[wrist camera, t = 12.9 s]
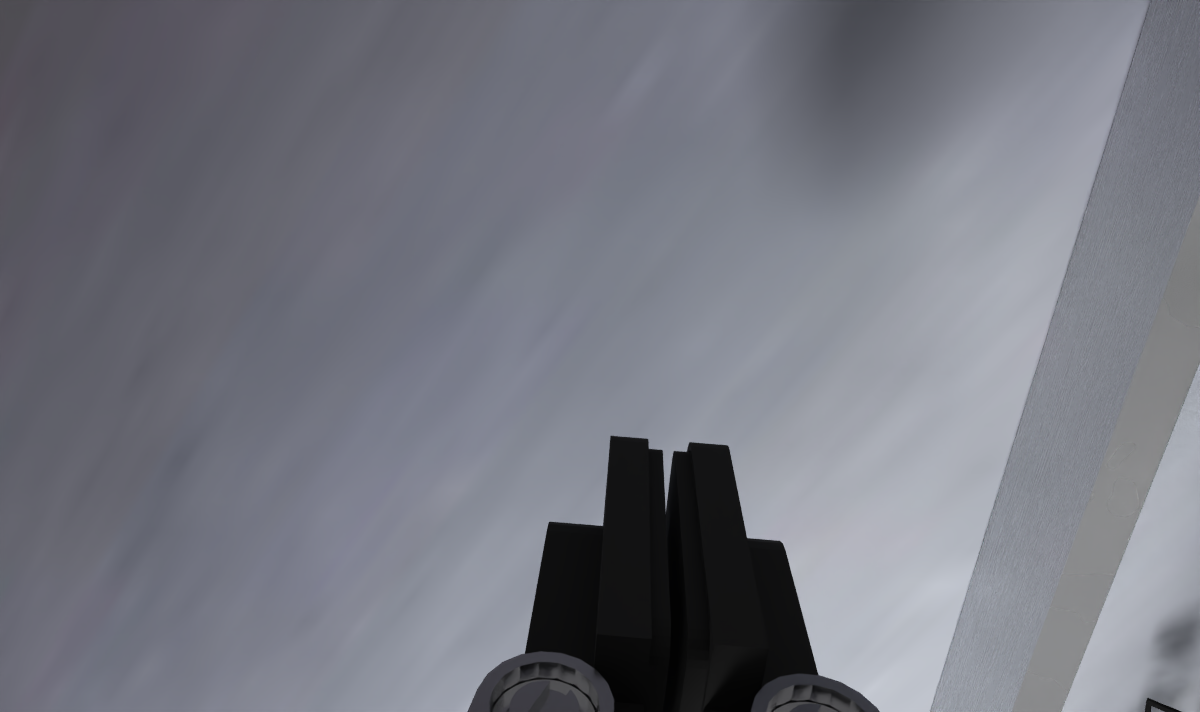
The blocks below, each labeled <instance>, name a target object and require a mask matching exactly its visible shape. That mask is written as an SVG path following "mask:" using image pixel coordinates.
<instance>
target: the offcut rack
mask: <svg viewBox="0 0 1200 712" xmlns="http://www.w3.org/2000/svg"><path fill="white" fill-rule="evenodd" d="M1199 363H1200V0H1151V3H1150V6H1149V9H1148V12H1147V16H1146V19H1145V22H1144V25H1143V28H1142V32H1141V35H1140V38H1139V41H1138V45H1137V48H1136V51H1135V54H1134V57H1133V61H1132V64H1131V67H1130V70H1129V74H1128V77H1127V80H1126V83H1125V86H1124V90H1123V93H1122V96H1121V99H1120V103H1119V106H1118V109H1117V112H1116V115H1115V119H1114V122H1113V125H1112V128H1111V132H1110V135H1109V138H1108V141H1107V144H1106V148H1105V151H1104V154H1103V157H1102V161H1101V164H1100V167H1099V170H1098V173H1097V177H1096V180H1095V183H1094V186H1093V190H1092V193H1091V196H1090V199H1089V203H1088V206H1087V209H1086V212H1085V215H1084V219H1083V222H1082V225H1081V228H1080V232H1079V235H1078V238H1077V241H1076V244H1075V248H1074V251H1073V254H1072V257H1071V261H1070V264H1069V267H1068V270H1067V273H1066V277H1065V280H1064V283H1063V286H1062V290H1061V293H1060V296H1059V299H1058V302H1057V306H1056V309H1055V312H1054V315H1053V319H1052V322H1051V325H1050V328H1049V331H1048V335H1047V338H1046V341H1045V344H1044V348H1043V351H1042V354H1041V357H1040V360H1039V364H1038V367H1037V370H1036V373H1035V377H1034V380H1033V383H1032V386H1031V389H1030V393H1029V396H1028V399H1027V402H1026V406H1025V409H1024V412H1023V415H1022V418H1021V422H1020V425H1019V428H1018V431H1017V435H1016V438H1015V441H1014V444H1013V447H1012V451H1011V454H1010V457H1009V460H1008V464H1007V467H1006V470H1005V473H1004V476H1003V480H1002V483H1001V486H1000V489H999V493H998V496H997V499H996V502H995V505H994V509H993V512H992V515H991V518H990V522H989V525H988V528H987V531H986V534H985V538H984V541H983V544H982V547H981V551H980V554H979V557H978V560H977V563H976V567H975V570H974V573H973V576H972V580H971V583H970V586H969V589H968V593H967V596H966V599H965V602H964V605H963V609H962V612H961V615H960V618H959V622H958V625H957V628H956V631H955V634H954V638H953V641H952V644H951V647H950V651H949V654H948V657H947V660H946V663H945V667H944V670H943V673H942V676H941V680H940V683H939V686H938V689H937V692H936V696H935V699H934V702H933V705H932V709H931V712H1061V711H1062V708H1063V706H1064V703H1065V701H1066V698H1067V696H1068V693H1069V691H1070V688H1071V686H1072V683H1073V681H1074V678H1075V676H1076V673H1077V671H1078V668H1079V665H1080V663H1081V660H1082V658H1083V655H1084V653H1085V650H1086V648H1087V645H1088V643H1089V640H1090V638H1091V635H1092V633H1093V630H1094V628H1095V625H1096V623H1097V620H1098V618H1099V615H1100V613H1101V610H1102V608H1103V605H1104V603H1105V600H1106V597H1107V595H1108V592H1109V590H1110V587H1111V585H1112V582H1113V580H1114V577H1115V575H1116V572H1117V570H1118V567H1119V565H1120V562H1121V560H1122V557H1123V555H1124V552H1125V550H1126V547H1127V545H1128V542H1129V540H1130V537H1131V535H1132V532H1133V529H1134V527H1135V524H1136V522H1137V519H1138V517H1139V514H1140V512H1141V509H1142V507H1143V504H1144V502H1145V499H1146V497H1147V494H1148V492H1149V489H1150V487H1151V484H1152V482H1153V479H1154V477H1155V474H1156V472H1157V469H1158V466H1159V464H1160V461H1161V459H1162V456H1163V454H1164V451H1165V449H1166V446H1167V444H1168V441H1169V439H1170V436H1171V434H1172V431H1173V429H1174V426H1175V424H1176V421H1177V419H1178V416H1179V414H1180V411H1181V409H1182V406H1183V404H1184V401H1185V398H1186V396H1187V393H1188V391H1189V388H1190V386H1191V383H1192V381H1193V378H1194V376H1195V373H1196V371H1197V368H1198V366H1199Z"/></svg>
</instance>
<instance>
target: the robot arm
mask: <svg viewBox="0 0 1200 712" xmlns="http://www.w3.org/2000/svg"><path fill="white" fill-rule="evenodd" d="M468 712H879V710H878V709H877V707H875V706H874V705H873V704H872V703H871V702H870V701H869V700H867V699H866V698H865V697H864V696H863V695H862V694H861V693H859V692H857V691H855V690H854V689H852V688H850V687H848V686H847V685H845V684H843V683H841V682H839V681H835V680H832V679H829V678H826V677H823V676H820V675H818V672H817V668H816V664H815V661H814V657H813V653H812V649H811V646H810V642H809V638H808V634H807V630H806V627H805V623H804V619H803V615H802V612H801V608H800V604H799V600H798V596H797V593H796V589H795V585H794V581H793V577H792V574H791V570H790V566H789V562H788V559H787V555H786V551H785V548H784V546H783V543H781V542H780V541H774V540H762V539H750V538H747V536H746V531H745V526H744V521H743V516H742V511H741V506H740V501H739V496H738V491H737V486H736V481H735V475H734V470H733V465H732V460H731V455H730V450H729V447H728V446H727V445H716V444H704V443H692V442H690V443H689V445H688V449H687V452H679V451H674V453H673V458H672V466H671V475H670V483H669V491H668V500H667V508H666V511H665V490H664V469H663V451H662V450H655V449H649V447H648V439H643V438H630V437H618V436H611V438H610V450H609V462H608V474H607V486H606V498H605V510H604V522H603V526H595V525H583V524H571V523H559V522H549V524H548V528H547V533H546V539H545V544H544V550H543V556H542V561H541V567H540V572H539V578H538V584H537V589H536V595H535V600H534V606H533V612H532V617H531V623H530V628H529V634H528V640H527V645H526V651H525V654H521V655H518V656H516V657H514V658H511V659H509V660H506V661H504V662H502V663H501V664H500V665H498V666H497V667H496V668H494V669H493V670H492V671H491V672H489V673H488V674H487V676H486V677H485V679H484V680H483V682H482V683H481V685H480V686H479V688H478V689H477V691H476V694H475V696H474V698H473V700H472V703H471V705H470V707H469V710H468Z"/></svg>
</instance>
